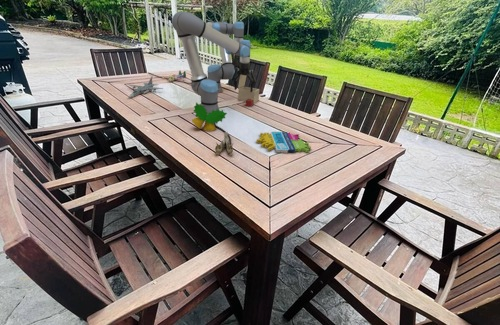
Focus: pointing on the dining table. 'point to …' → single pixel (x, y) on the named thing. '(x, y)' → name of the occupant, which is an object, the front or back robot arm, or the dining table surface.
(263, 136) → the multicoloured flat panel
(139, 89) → the airplane
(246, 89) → the chest
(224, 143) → the jawbone
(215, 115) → the ornament
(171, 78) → the toy
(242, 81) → the lid
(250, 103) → the block
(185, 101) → the dining table surface
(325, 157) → the dining table surface
